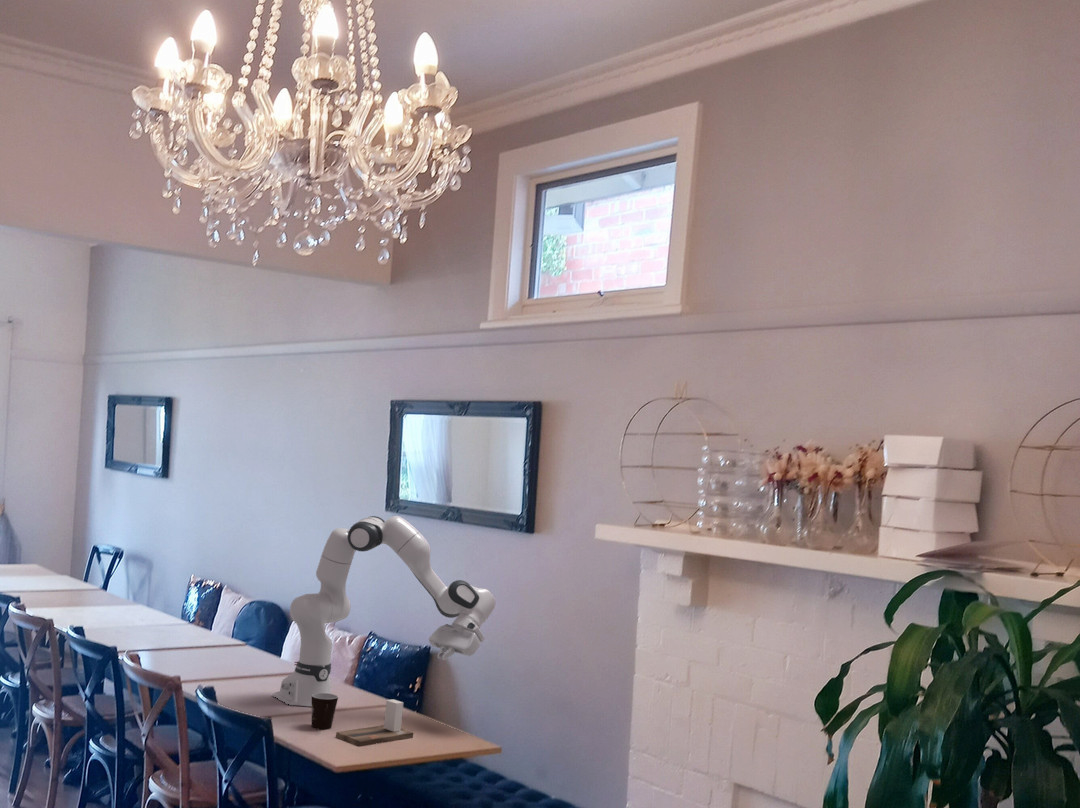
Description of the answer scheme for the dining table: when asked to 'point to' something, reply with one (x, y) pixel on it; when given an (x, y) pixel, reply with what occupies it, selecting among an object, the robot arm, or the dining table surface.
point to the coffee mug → (323, 710)
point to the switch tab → (393, 715)
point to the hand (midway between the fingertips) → (440, 658)
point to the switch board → (372, 735)
